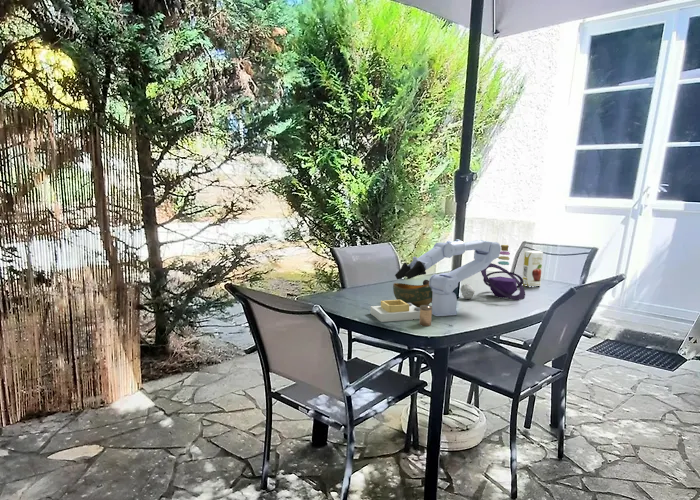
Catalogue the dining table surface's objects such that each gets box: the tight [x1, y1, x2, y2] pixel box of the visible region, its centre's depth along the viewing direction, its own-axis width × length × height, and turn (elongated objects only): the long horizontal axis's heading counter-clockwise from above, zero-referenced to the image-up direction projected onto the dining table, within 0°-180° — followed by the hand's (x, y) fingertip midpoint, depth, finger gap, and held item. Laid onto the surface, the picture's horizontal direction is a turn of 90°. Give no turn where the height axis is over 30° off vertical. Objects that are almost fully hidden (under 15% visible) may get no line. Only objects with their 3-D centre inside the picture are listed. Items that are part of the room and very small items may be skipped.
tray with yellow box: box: [370, 299, 420, 323], centre depth 180 cm, size 18×12×6 cm, turn 108°
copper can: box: [419, 304, 433, 327], centre depth 169 cm, size 4×4×7 cm
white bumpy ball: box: [460, 283, 475, 300], centre depth 211 cm, size 6×7×7 cm
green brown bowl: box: [392, 282, 433, 308], centre depth 198 cm, size 13×20×10 cm, turn 28°
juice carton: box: [521, 250, 544, 287], centre depth 241 cm, size 8×9×19 cm
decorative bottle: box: [480, 244, 526, 301], centre depth 215 cm, size 22×21×25 cm
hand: (401, 276), depth 172 cm, fingers open, 7 cm apart
